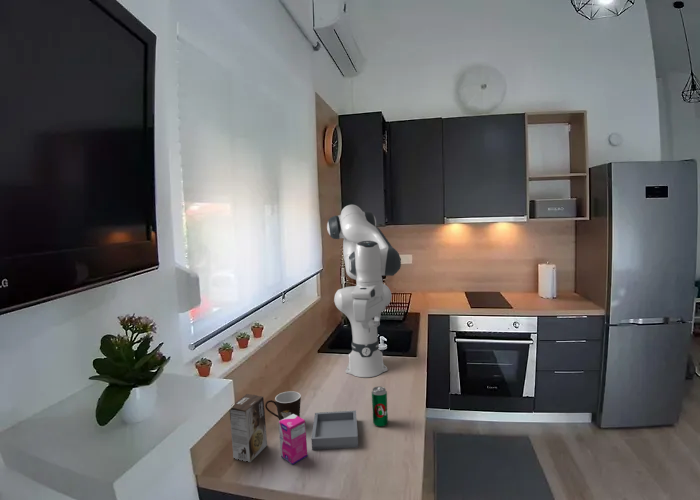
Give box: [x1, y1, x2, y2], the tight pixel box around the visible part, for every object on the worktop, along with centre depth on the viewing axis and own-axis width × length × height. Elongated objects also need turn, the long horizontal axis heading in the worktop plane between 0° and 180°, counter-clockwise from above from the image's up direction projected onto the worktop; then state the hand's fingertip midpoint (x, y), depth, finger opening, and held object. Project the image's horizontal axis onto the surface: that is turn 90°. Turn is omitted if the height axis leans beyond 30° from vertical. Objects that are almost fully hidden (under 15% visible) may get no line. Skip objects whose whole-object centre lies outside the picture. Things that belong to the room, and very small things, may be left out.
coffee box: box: [229, 393, 268, 463], centre depth 121 cm, size 9×6×16 cm
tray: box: [311, 410, 359, 451], centre depth 129 cm, size 16×14×4 cm
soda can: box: [371, 386, 389, 428], centre depth 134 cm, size 5×5×12 cm
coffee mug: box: [264, 390, 302, 422], centre depth 136 cm, size 12×9×10 cm
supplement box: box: [278, 414, 309, 465], centre depth 117 cm, size 6×6×12 cm
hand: (372, 329), depth 136 cm, fingers open, 8 cm apart
